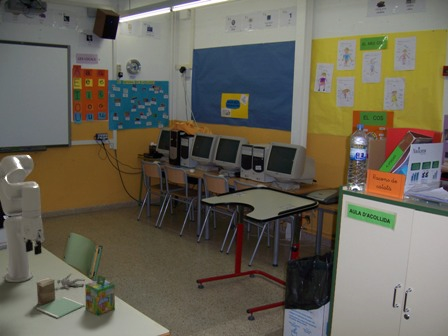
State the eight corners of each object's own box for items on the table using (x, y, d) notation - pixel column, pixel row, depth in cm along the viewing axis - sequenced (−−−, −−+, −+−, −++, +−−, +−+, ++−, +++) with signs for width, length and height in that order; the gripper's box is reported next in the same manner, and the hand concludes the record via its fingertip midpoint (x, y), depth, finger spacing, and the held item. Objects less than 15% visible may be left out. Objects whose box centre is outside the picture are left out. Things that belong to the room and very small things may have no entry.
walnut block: (37, 303, 208) (36, 281, 206) (49, 298, 213) (48, 277, 211) (43, 305, 206) (42, 284, 204) (55, 300, 211) (54, 279, 209)
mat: (36, 309, 202) (36, 308, 202) (63, 297, 214) (63, 296, 214) (57, 318, 195) (57, 317, 195) (84, 305, 206) (84, 304, 206)
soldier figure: (83, 290, 224) (57, 286, 220) (80, 294, 228) (55, 289, 223) (85, 275, 229) (60, 270, 225) (83, 279, 232) (58, 274, 228)
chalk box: (85, 309, 203) (84, 277, 201) (102, 302, 210) (102, 270, 208) (98, 316, 197) (97, 283, 195) (115, 308, 204) (115, 276, 202)
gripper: (12, 211, 208) (14, 251, 211) (36, 218, 199) (38, 259, 202) (27, 208, 215) (29, 246, 218) (51, 214, 205) (53, 254, 208)
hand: (33, 252), depth 210 cm, fingers open, 5 cm apart
